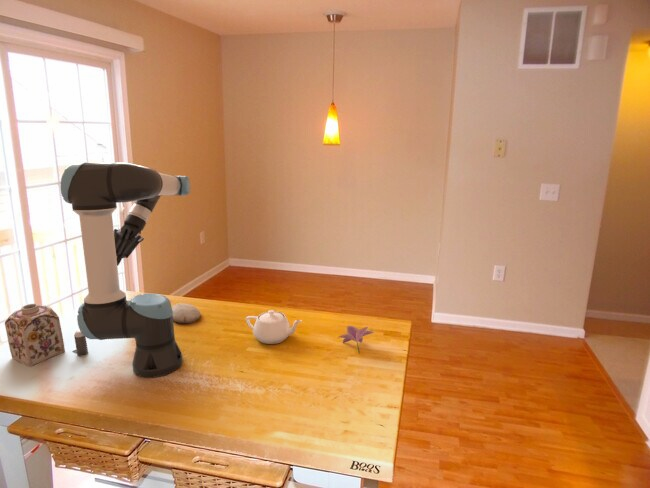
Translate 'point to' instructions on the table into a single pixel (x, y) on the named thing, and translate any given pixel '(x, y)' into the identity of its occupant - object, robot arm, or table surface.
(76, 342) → the pepper shaker
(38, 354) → the decorative jar
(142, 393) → the table surface
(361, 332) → the lily
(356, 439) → the table surface
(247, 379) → the table surface
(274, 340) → the teapot
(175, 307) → the stone
